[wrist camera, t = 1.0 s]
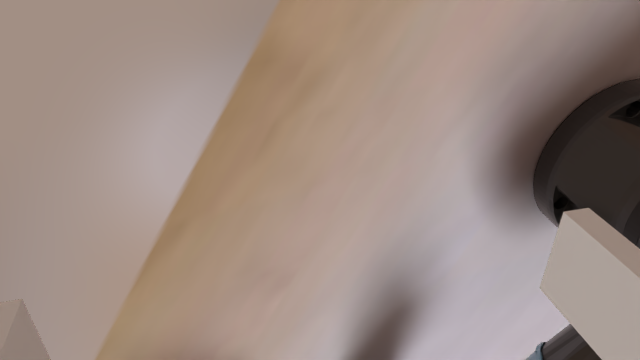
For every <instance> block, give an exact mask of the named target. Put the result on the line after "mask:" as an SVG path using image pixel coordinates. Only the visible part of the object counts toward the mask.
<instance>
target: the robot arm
mask: <svg viewBox="0 0 640 360" xmlns="http://www.w3.org/2000/svg"><path fill="white" fill-rule="evenodd" d="M534 197H535V201H536V203H537V206H538V208H539V209H540V211H541V212H542V213H543V214H544V215H545V216H546V217H547V218H548V219H549V220H550V221H551V222H552V223H554V224H555V225H556V226H557V227H558V231H557V234H556V237H555V240H554V244H553V247H552V250H551V253H550V256H549V259H548V263H547V266H546V269H545V272H544V275H543V279H542V282H541V285H540V289H541V290H542V291H543V293H544V294H545V295H546V296H547V297H548V298H549V300H550V301H551V302H552V303H553V304H554V305H555V306H556V308H557V309H558V310H559V311H560V312H561V313H562V314H563V316H564V317H565V318H566V319H567V320H568V321H569V323H570V324H569V325H568V326H567V327H566V328H564V329H563V330H562V331H560V332H559V333H558V334H557V335H555V336H554V337H553V338H551V339H550V340H549V341H548V342H543V343H540V344H539V345H538V346H537V347H536V351H535V352H534V353H533V354H531V355H530V356H529V357H528V358H527V359H526V360H640V80H632V81H628V82H624V83H621V84H618V85H615V86H613V87H610V88H608V89H606V90H604V91H602V92H600V93H599V94H597V95H595V96H594V97H592V98H591V99H589V100H588V101H586V102H585V103H584V104H582V105H581V106H580V107H579V108H577V109H576V110H575V111H574V112H573V113H572V114H571V115H570V116H569V117H568V118H567V119H566V120H565V121H564V122H563V123H562V124H561V126H560V127H559V128H558V129H557V130H556V132H555V133H554V134H553V136H552V137H551V139H550V140H549V142H548V143H547V145H546V147H545V149H544V151H543V153H542V155H541V157H540V159H539V162H538V165H537V168H536V172H535V176H534ZM0 360H51V359H50V357H49V355H48V353H47V351H46V348H45V346H44V344H43V342H42V340H41V338H40V336H39V333H38V331H37V329H36V327H35V325H34V323H33V321H32V319H31V316H30V314H29V312H28V310H27V308H26V306H25V304H24V301H23V299H18V300H12V301H6V302H0Z"/></svg>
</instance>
